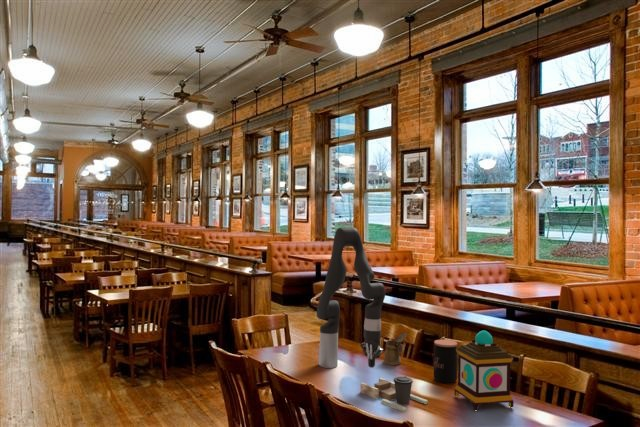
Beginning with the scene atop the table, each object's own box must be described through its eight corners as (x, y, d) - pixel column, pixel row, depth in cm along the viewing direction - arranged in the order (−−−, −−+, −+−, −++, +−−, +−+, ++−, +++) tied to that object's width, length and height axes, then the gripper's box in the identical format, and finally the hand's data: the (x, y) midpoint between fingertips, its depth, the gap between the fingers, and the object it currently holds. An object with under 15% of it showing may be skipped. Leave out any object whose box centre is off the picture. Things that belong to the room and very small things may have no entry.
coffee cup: (411, 398, 212) (411, 375, 212) (414, 406, 204) (414, 381, 204) (392, 398, 213) (392, 374, 213) (393, 405, 205) (394, 380, 205)
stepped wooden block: (360, 392, 219) (360, 383, 219) (380, 386, 227) (380, 377, 227) (376, 399, 212) (376, 389, 212) (397, 392, 219) (397, 383, 219)
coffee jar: (430, 377, 242) (431, 339, 242) (452, 376, 243) (452, 339, 243) (437, 384, 231) (438, 345, 231) (460, 384, 232) (460, 345, 232)
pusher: (374, 394, 217) (374, 383, 217) (385, 390, 221) (385, 380, 221) (389, 400, 209) (389, 389, 209) (401, 397, 214) (401, 386, 214)
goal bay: (381, 402, 208) (381, 399, 208) (405, 394, 217) (405, 392, 217) (403, 411, 198) (403, 408, 198) (427, 403, 207) (427, 400, 207)
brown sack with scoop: (397, 368, 254) (398, 333, 254) (379, 362, 265) (380, 328, 265) (410, 366, 259) (411, 331, 259) (392, 359, 270) (392, 326, 270)
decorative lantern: (449, 395, 217) (450, 326, 217) (491, 392, 221) (492, 324, 222) (474, 413, 198) (475, 337, 198) (518, 410, 202) (519, 335, 202)
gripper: (356, 326, 226) (355, 364, 226) (377, 332, 215) (376, 372, 216) (368, 324, 230) (367, 361, 231) (389, 330, 220) (388, 369, 220)
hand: (371, 366), depth 223 cm, fingers closed
